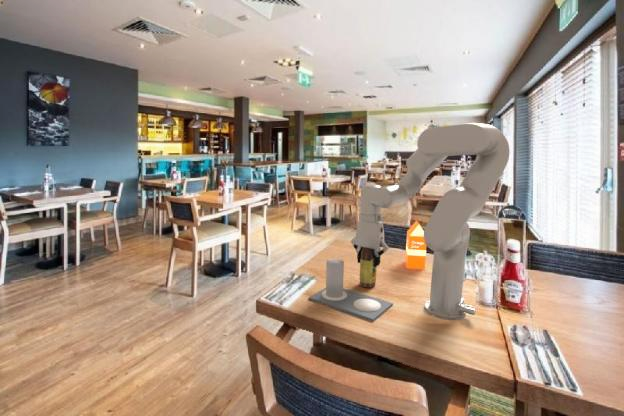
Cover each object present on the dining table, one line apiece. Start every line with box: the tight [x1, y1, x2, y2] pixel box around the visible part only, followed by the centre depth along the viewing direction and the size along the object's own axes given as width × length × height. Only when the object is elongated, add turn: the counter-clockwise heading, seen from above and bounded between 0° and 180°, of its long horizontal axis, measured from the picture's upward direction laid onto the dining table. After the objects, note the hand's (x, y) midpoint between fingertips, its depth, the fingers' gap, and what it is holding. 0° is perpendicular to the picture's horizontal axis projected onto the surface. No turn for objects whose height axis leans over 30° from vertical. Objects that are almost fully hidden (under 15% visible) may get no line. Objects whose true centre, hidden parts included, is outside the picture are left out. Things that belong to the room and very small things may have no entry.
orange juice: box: [405, 220, 427, 270], centre depth 156 cm, size 8×9×20 cm
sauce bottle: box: [359, 247, 378, 288], centre depth 133 cm, size 6×6×20 cm
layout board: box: [308, 258, 394, 322], centre depth 119 cm, size 25×14×13 cm, turn 53°
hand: (368, 263), depth 134 cm, fingers closed on sauce bottle, 6 cm apart
